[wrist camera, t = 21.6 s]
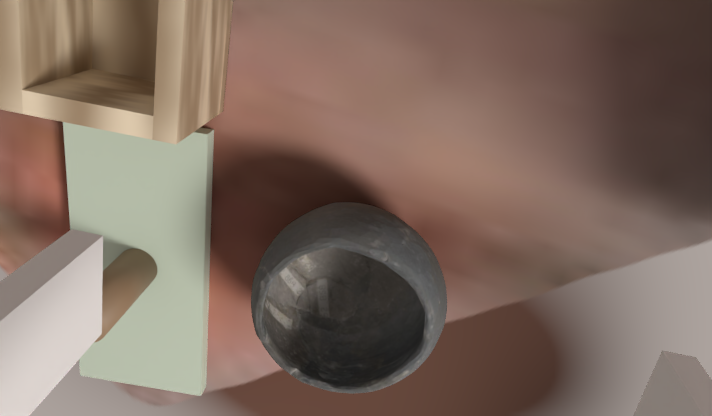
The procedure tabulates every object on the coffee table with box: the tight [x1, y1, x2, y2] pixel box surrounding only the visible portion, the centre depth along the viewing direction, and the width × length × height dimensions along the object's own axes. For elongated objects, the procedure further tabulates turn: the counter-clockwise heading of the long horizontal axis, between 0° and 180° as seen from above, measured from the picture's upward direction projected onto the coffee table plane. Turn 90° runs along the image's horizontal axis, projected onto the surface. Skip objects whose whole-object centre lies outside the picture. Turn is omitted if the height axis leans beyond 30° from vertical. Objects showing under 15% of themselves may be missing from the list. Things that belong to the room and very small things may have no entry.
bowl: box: [251, 202, 447, 393], centre depth 48 cm, size 15×15×10 cm
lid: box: [63, 122, 214, 396], centre depth 50 cm, size 12×26×11 cm, turn 173°
